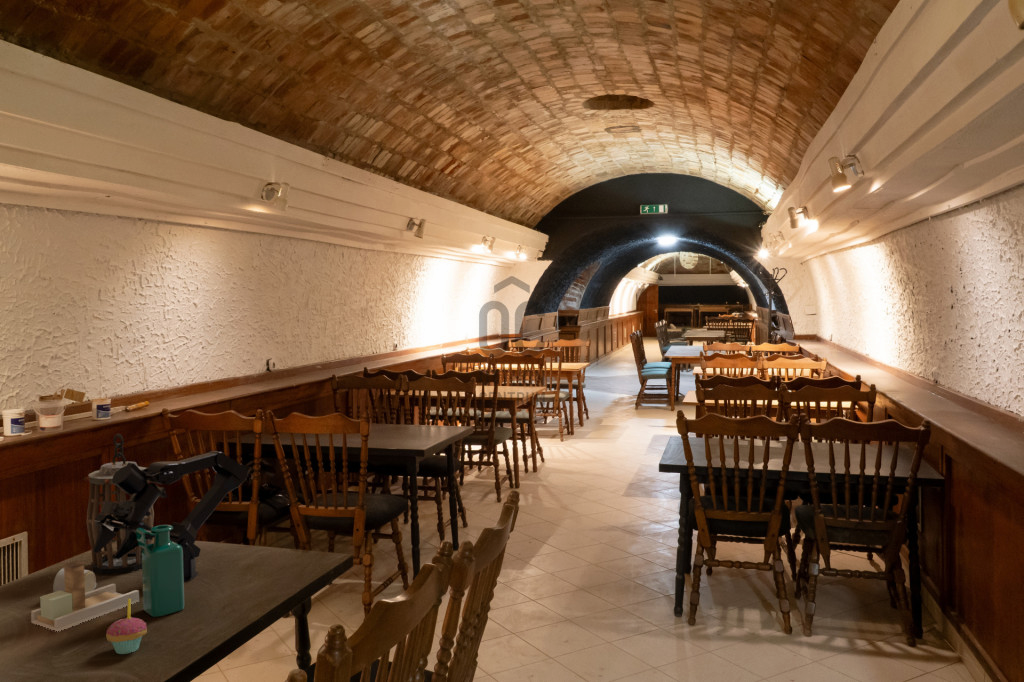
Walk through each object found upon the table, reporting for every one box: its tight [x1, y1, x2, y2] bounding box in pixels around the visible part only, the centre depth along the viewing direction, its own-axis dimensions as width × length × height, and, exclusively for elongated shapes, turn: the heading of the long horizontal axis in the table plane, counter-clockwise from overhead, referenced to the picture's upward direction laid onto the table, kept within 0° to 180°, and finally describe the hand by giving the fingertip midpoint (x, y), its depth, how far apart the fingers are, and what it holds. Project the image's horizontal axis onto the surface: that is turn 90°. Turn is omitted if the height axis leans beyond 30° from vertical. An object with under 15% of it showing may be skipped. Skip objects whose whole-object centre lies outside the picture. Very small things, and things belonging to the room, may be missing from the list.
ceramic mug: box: [52, 567, 97, 593], centre depth 219 cm, size 11×8×8 cm
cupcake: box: [105, 595, 148, 655], centre depth 185 cm, size 9×8×12 cm
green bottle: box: [136, 524, 185, 618], centre depth 207 cm, size 10×8×22 cm
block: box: [39, 590, 73, 620], centre depth 200 cm, size 5×5×5 cm
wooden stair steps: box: [37, 560, 119, 625], centre depth 205 cm, size 18×8×13 cm, turn 150°
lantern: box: [81, 433, 155, 576], centre depth 242 cm, size 19×19×40 cm
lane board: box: [30, 583, 140, 633], centre depth 207 cm, size 22×11×3 cm, turn 150°
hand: (105, 555), depth 211 cm, fingers open, 9 cm apart
